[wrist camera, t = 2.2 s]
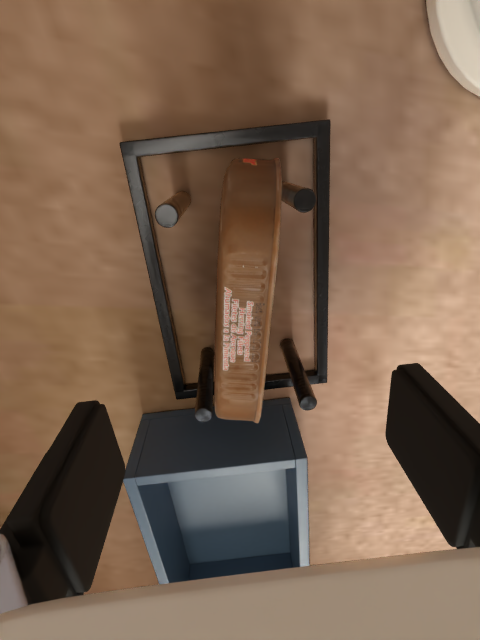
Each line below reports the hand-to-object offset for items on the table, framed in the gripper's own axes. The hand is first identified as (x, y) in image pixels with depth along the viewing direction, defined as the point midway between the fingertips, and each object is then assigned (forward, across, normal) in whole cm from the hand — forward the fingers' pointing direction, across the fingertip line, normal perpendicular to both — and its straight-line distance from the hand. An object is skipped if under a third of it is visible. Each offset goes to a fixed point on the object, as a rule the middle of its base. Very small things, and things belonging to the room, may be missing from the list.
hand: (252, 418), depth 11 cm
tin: (+14, 0, 0) cm, 14 cm away
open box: (+14, +3, +20) cm, 25 cm away
